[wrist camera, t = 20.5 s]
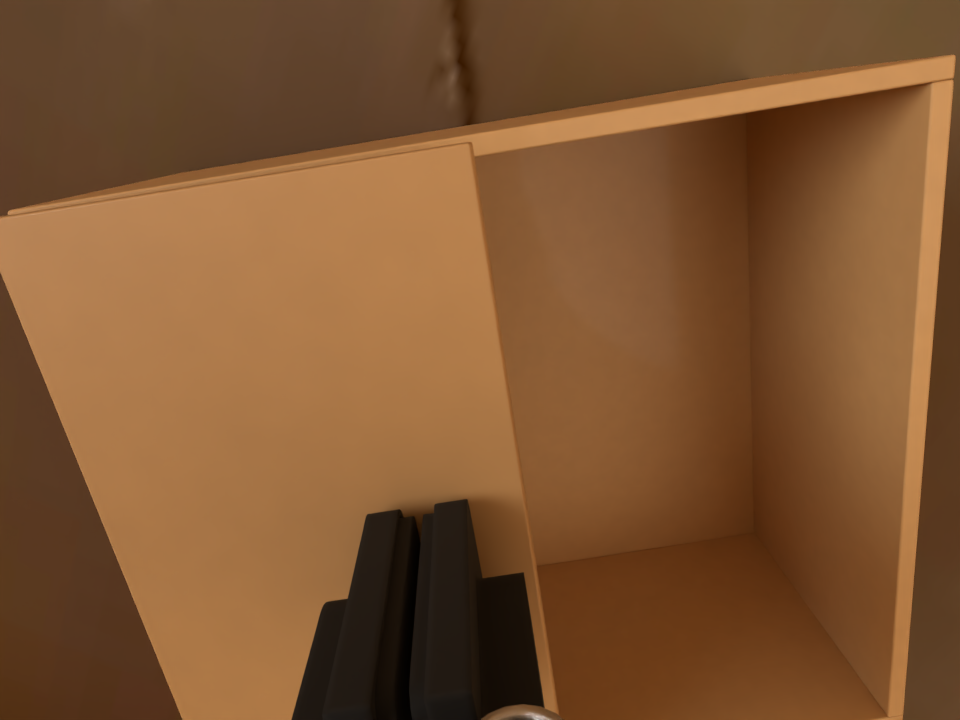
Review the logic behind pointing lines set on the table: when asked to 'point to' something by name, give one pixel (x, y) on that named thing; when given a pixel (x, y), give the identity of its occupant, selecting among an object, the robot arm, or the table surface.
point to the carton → (714, 379)
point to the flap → (275, 397)
